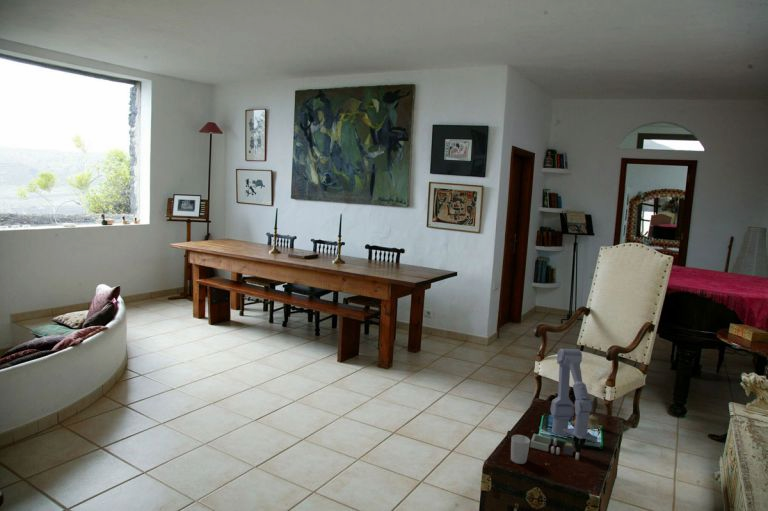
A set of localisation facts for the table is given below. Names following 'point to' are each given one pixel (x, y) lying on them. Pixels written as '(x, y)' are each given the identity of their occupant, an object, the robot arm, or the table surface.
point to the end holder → (537, 444)
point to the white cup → (519, 448)
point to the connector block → (568, 448)
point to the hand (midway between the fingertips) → (577, 452)
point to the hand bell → (593, 416)
